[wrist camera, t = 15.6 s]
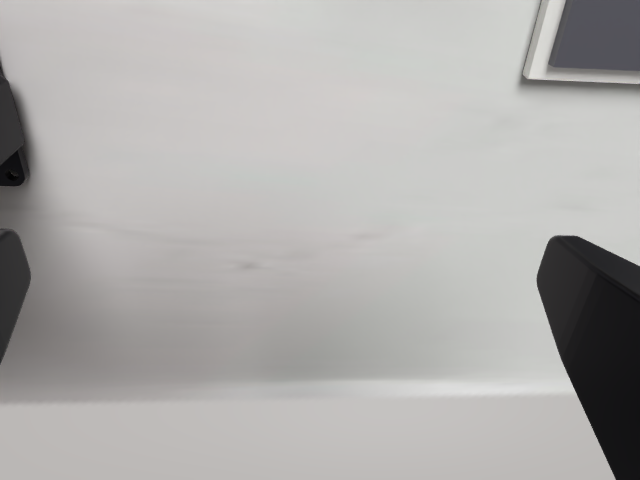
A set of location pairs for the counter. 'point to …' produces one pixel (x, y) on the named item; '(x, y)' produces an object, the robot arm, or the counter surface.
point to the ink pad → (586, 41)
